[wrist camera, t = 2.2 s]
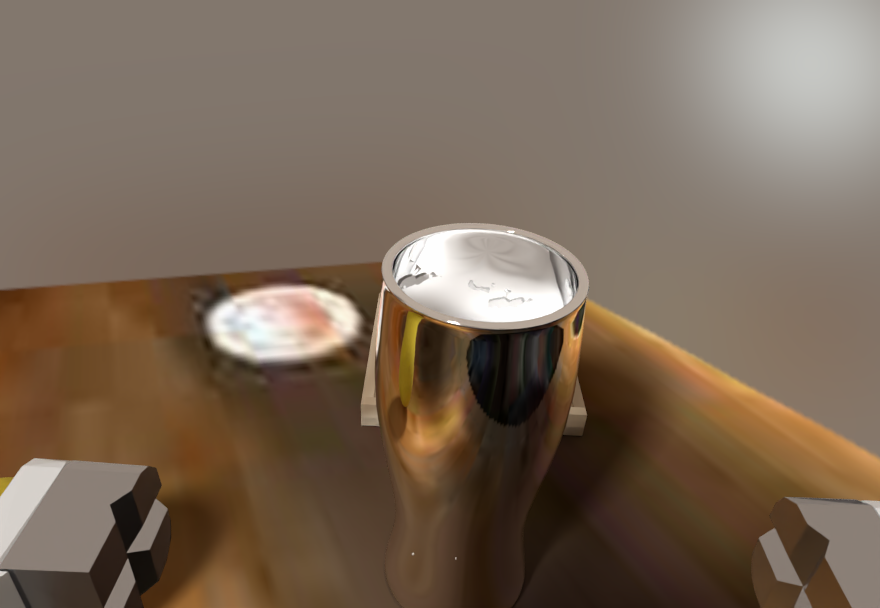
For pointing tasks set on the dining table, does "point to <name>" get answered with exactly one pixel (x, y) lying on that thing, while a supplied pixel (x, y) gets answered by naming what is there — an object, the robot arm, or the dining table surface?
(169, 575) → the dining table surface
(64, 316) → the dining table surface
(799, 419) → the dining table surface
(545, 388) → the beer glass
